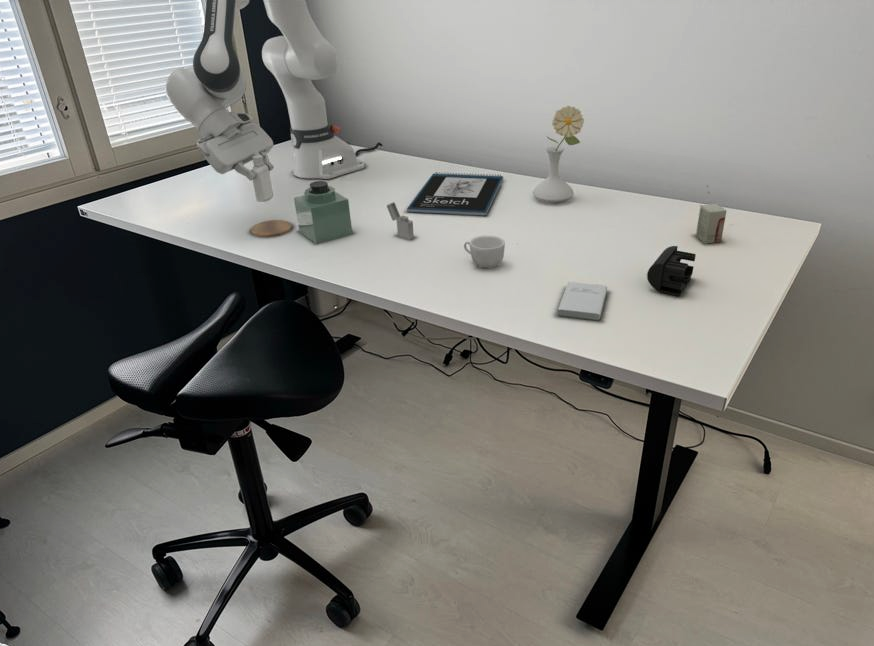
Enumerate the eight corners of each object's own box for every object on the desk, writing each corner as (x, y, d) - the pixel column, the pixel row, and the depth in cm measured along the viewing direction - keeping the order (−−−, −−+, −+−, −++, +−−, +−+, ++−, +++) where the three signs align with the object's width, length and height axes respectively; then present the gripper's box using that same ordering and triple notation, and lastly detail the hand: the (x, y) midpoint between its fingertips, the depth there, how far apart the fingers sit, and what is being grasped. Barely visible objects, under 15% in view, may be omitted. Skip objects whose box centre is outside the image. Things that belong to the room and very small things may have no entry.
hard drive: (557, 316, 132) (567, 288, 142) (599, 321, 130) (606, 292, 140) (557, 309, 131) (567, 281, 141) (600, 313, 129) (607, 285, 139)
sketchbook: (407, 213, 182) (406, 205, 181) (434, 177, 207) (433, 171, 206) (486, 216, 178) (485, 208, 177) (503, 180, 203) (503, 173, 202)
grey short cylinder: (324, 187, 168) (322, 179, 167) (331, 192, 165) (330, 184, 164) (307, 191, 166) (306, 183, 165) (315, 196, 163) (314, 188, 162)
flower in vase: (526, 203, 185) (529, 108, 172) (538, 190, 194) (542, 99, 180) (573, 208, 181) (579, 111, 167) (583, 194, 190) (590, 101, 176)
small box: (721, 242, 160) (727, 210, 155) (704, 244, 159) (710, 212, 155) (711, 234, 164) (717, 203, 159) (694, 236, 163) (700, 204, 159)
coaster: (282, 219, 180) (282, 217, 180) (297, 230, 173) (297, 228, 173) (246, 228, 175) (245, 226, 175) (260, 240, 169) (260, 237, 168)
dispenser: (334, 222, 177) (329, 181, 171) (352, 233, 170) (347, 191, 164) (299, 231, 173) (292, 189, 167) (316, 243, 166) (309, 200, 160)
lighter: (414, 237, 167) (412, 206, 163) (409, 239, 166) (407, 208, 162) (393, 231, 171) (390, 200, 167) (388, 233, 170) (385, 202, 166)
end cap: (659, 272, 147) (663, 243, 144) (692, 278, 144) (697, 249, 140) (644, 290, 140) (648, 260, 136) (678, 298, 137) (683, 267, 133)
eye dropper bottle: (279, 197, 170) (271, 149, 164) (261, 203, 167) (251, 154, 160) (269, 194, 173) (260, 146, 166) (250, 200, 169) (241, 152, 163)
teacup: (510, 261, 154) (511, 239, 151) (494, 274, 148) (493, 251, 146) (473, 253, 158) (472, 231, 156) (455, 265, 153) (454, 243, 150)
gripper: (198, 132, 154) (242, 178, 156) (252, 112, 170) (291, 154, 172) (187, 150, 158) (230, 195, 160) (241, 129, 174) (280, 170, 176)
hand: (262, 173), depth 166 cm, fingers closed on eye dropper bottle, 5 cm apart
